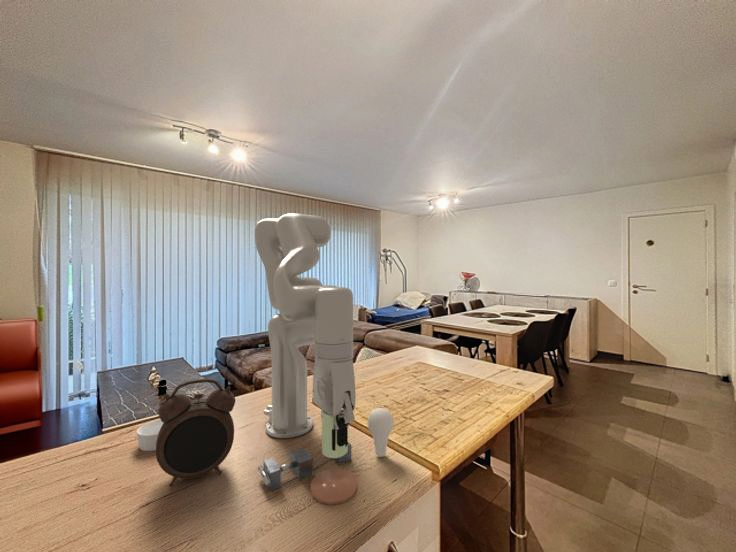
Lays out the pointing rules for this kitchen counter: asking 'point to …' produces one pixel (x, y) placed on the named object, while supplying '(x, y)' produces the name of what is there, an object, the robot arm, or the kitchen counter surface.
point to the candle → (330, 438)
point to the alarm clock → (195, 432)
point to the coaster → (334, 486)
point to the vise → (293, 467)
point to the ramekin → (149, 435)
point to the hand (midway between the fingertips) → (334, 442)
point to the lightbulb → (380, 429)
